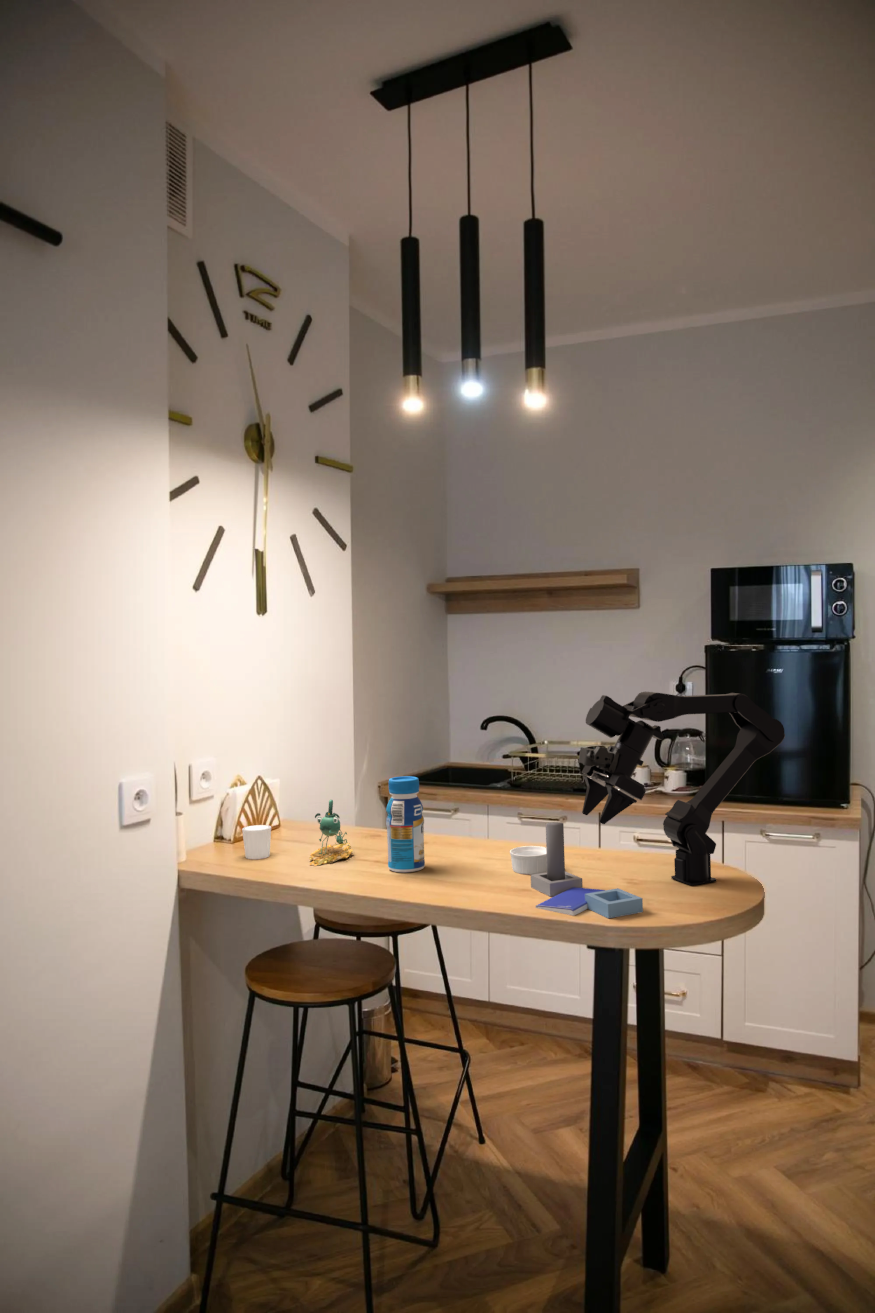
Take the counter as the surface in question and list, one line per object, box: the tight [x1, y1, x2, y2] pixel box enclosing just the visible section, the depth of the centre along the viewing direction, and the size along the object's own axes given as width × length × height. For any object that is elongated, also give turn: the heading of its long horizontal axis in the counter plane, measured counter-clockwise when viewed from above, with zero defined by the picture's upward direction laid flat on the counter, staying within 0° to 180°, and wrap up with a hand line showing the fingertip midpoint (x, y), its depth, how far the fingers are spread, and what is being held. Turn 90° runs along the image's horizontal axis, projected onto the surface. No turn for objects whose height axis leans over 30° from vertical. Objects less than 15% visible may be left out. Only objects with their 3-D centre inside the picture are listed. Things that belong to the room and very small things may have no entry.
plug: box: [545, 821, 566, 881], centre depth 171 cm, size 4×4×13 cm
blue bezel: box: [585, 888, 644, 919], centre depth 157 cm, size 7×7×2 cm
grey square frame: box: [530, 870, 584, 897], centre depth 172 cm, size 7×7×2 cm
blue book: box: [535, 887, 606, 917], centre depth 162 cm, size 2×8×12 cm
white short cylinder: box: [241, 824, 272, 860], centre depth 207 cm, size 7×7×7 cm
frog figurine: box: [309, 799, 354, 867], centre depth 204 cm, size 10×18×15 cm, turn 155°
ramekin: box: [509, 845, 547, 876], centre depth 187 cm, size 9×9×4 cm
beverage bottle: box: [385, 775, 426, 873], centre depth 191 cm, size 8×8×20 cm
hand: (592, 818), depth 170 cm, fingers open, 9 cm apart
